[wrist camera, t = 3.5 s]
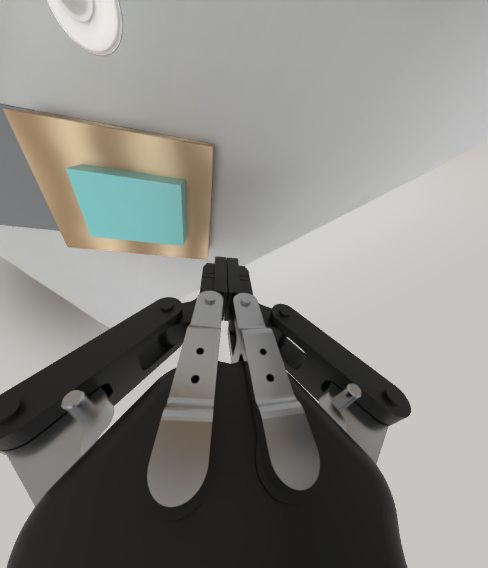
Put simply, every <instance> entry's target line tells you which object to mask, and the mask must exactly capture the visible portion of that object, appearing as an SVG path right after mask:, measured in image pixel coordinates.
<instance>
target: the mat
mask: <svg viewBox="0 0 488 568" xmlns="http://www.w3.org/2000/svg"><path fill="white" fill-rule="evenodd" d="M3 109H14V110H26V111H35V110H29V109H24V108H19V107H13V106H8V105H3V104H0V225H9V226H19V227H28V228H38V229H48V230H58V231H60V230H59V228H58V225H57V223H56V221H55V219H54V217H53V215H52V213H51V211H50V208H49V206H48V204H47V202H46V200H45V198H44V196H43V193H42V191H41V189H40V187H39V185H38V183H37V181H36V179H35V176H34V174H33V172H32V170H31V168H30V166H29V164H28V161H27V159H26V157H25V155H24V153H23V151H22V149H21V147H20V144H19V142H18V140H17V138H16V136H15V134H14V132H13V130H12V127H11V125H10V123H9V121H8V119H7V117H6V115H5V112H4V110H3Z"/></svg>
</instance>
